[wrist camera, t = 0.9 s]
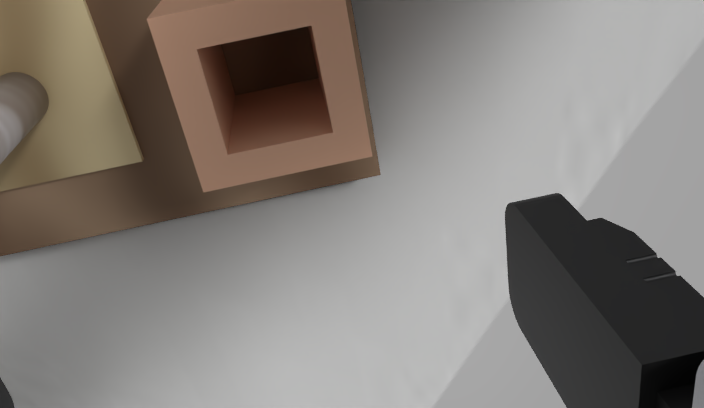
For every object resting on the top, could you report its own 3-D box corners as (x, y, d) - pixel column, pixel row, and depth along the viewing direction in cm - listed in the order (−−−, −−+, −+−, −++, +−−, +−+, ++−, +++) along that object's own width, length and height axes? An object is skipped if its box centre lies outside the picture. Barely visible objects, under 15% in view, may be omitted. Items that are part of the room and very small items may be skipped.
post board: (319, -163, 23) (349, -181, 15) (375, 160, 29) (418, 271, 21) (-153, -69, 22) (-386, -35, 14) (7, 239, 28) (-93, 383, 20)
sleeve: (323, -46, 23) (341, -22, 18) (350, 98, 26) (372, 156, 21) (173, -15, 23) (146, 19, 18) (215, 126, 26) (203, 192, 20)
